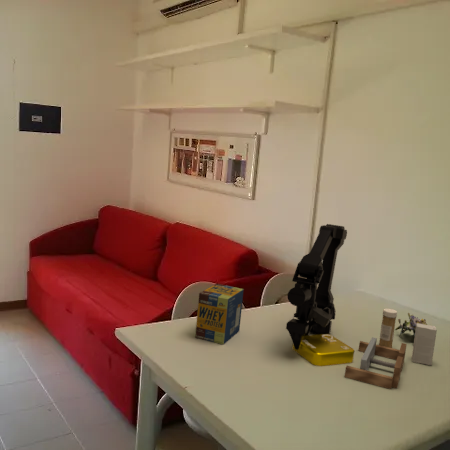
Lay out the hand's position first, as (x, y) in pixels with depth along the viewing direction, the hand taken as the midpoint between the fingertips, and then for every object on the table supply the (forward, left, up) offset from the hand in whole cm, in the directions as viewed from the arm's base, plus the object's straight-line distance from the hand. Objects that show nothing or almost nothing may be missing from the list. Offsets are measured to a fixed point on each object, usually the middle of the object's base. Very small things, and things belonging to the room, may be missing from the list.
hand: (300, 344), depth 162 cm
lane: (+23, 0, -2) cm, 23 cm away
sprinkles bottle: (+24, +20, -2) cm, 32 cm away
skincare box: (+36, +15, -2) cm, 39 cm away
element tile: (+7, 0, -2) cm, 8 cm away
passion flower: (+31, +35, -2) cm, 47 cm away
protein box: (-28, -5, -2) cm, 28 cm away
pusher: (+26, 0, -1) cm, 26 cm away
